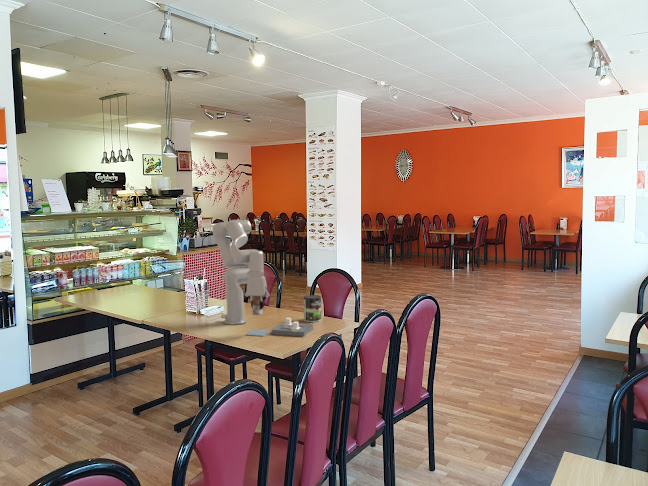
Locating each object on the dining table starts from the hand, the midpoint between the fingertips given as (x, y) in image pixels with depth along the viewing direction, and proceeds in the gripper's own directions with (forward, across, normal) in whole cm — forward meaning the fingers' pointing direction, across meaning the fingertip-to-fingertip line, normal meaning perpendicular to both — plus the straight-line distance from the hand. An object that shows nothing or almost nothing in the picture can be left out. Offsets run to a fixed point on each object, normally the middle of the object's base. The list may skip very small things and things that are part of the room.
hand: (257, 308), depth 270 cm
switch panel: (+14, +17, +8) cm, 23 cm away
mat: (+14, 0, 0) cm, 14 cm away
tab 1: (+11, +13, +11) cm, 21 cm away
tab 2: (+11, +20, +4) cm, 23 cm away
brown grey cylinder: (+3, 0, 0) cm, 3 cm away
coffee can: (+14, +20, +35) cm, 43 cm away
